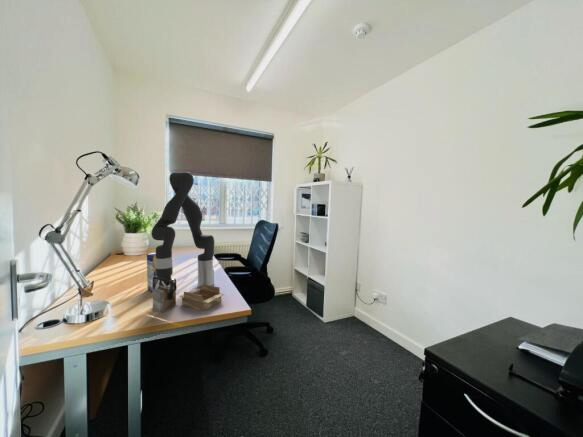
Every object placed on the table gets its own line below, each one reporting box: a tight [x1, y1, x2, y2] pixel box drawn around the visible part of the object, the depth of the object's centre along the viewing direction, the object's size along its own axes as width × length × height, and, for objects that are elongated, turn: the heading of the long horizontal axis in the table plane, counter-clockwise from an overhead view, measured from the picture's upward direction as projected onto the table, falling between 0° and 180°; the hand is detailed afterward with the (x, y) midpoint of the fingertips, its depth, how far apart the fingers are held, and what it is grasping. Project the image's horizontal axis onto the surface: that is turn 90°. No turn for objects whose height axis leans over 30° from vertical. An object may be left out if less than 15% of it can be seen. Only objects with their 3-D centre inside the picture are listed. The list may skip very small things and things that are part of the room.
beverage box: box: [146, 252, 163, 292], centre depth 143 cm, size 7×11×22 cm, turn 151°
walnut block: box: [152, 285, 177, 313], centre depth 115 cm, size 9×5×10 cm, turn 157°
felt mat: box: [150, 304, 179, 314], centre depth 116 cm, size 9×9×1 cm
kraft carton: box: [179, 284, 225, 312], centre depth 121 cm, size 13×19×8 cm
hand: (164, 297), depth 115 cm, fingers open, 8 cm apart
